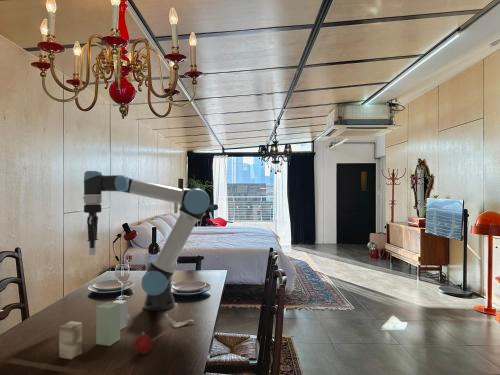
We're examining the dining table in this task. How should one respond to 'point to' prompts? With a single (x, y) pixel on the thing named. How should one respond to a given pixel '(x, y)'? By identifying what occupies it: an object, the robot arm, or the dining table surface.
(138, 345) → the red pomegranate
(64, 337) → the birch block
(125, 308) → the grey block
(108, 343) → the pale green block
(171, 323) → the jawbone
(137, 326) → the dining table surface
